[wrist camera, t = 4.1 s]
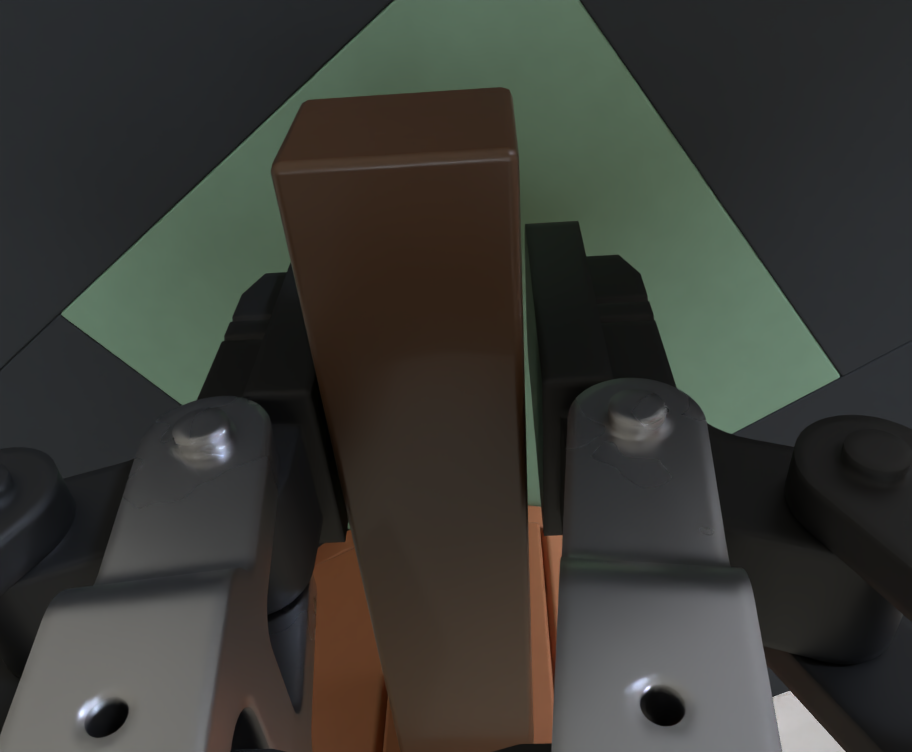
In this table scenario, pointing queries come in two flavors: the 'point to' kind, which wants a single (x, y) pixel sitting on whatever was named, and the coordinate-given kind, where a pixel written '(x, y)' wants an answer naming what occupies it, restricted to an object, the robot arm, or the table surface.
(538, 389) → the robot arm
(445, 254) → the saucepan
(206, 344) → the placemat
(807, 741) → the table surface
